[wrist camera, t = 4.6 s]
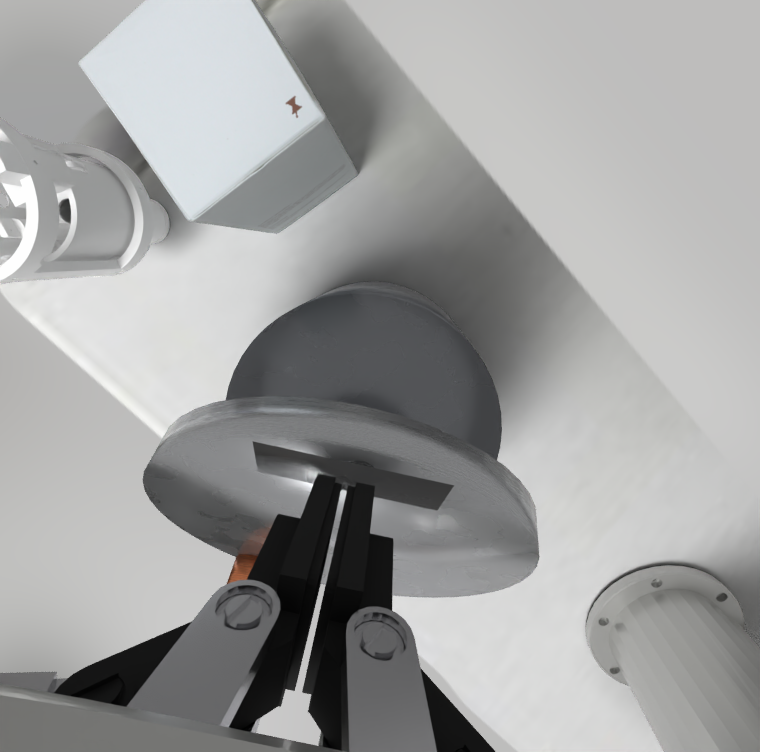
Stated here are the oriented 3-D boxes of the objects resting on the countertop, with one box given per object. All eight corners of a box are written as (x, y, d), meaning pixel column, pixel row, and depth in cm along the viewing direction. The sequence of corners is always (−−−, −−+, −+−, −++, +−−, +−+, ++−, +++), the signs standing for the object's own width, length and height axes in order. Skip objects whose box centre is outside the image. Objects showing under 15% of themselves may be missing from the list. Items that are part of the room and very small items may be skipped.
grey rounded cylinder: (496, 306, 31) (539, 330, 21) (443, 487, 35) (459, 575, 25) (292, 260, 31) (242, 263, 21) (263, 447, 35) (210, 521, 25)
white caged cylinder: (214, 250, 31) (48, 247, 16) (131, 286, 32) (-95, 313, 17) (167, 149, 29) (-65, 46, 15) (80, 191, 30) (-216, 132, 16)
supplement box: (298, 70, 27) (215, -77, 15) (361, 176, 29) (331, 119, 17) (209, 140, 29) (68, 56, 17) (274, 238, 30) (188, 226, 18)
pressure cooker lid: (626, 463, 13) (655, 589, 11) (466, 586, 25) (463, 655, 23) (101, 348, 13) (20, 451, 10) (200, 529, 25) (172, 593, 23)
